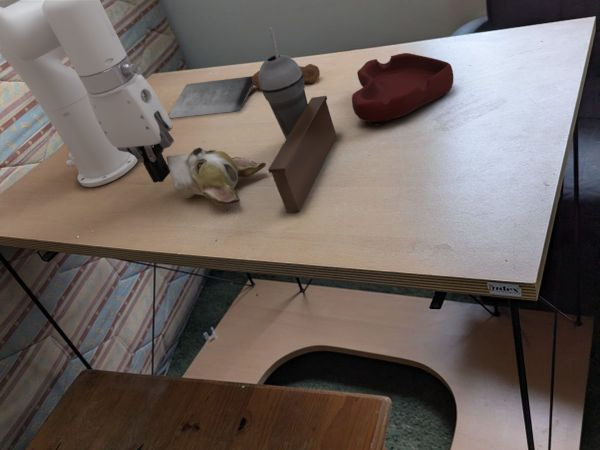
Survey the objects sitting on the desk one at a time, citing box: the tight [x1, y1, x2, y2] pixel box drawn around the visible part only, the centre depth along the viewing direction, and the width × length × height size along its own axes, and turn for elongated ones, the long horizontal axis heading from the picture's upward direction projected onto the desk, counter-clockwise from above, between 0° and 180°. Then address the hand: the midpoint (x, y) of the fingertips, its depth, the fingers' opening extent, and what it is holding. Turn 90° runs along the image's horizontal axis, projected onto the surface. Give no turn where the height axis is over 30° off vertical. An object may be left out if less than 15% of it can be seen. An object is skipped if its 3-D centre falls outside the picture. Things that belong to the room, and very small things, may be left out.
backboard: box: [267, 95, 338, 213], centre depth 84 cm, size 3×20×8 cm, turn 161°
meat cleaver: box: [168, 63, 321, 119], centre depth 117 cm, size 34×11×4 cm, turn 69°
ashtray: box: [351, 52, 455, 126], centre depth 94 cm, size 18×16×5 cm
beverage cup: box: [258, 27, 309, 140], centre depth 89 cm, size 7×7×20 cm
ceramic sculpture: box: [165, 147, 267, 206], centre depth 88 cm, size 11×9×15 cm
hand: (162, 177), depth 92 cm, fingers closed
